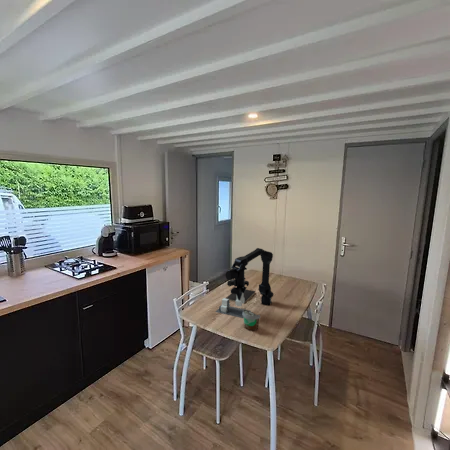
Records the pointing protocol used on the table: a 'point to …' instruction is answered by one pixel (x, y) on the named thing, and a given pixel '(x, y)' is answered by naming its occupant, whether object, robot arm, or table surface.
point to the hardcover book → (247, 295)
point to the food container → (250, 320)
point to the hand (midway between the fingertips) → (240, 298)
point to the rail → (232, 311)
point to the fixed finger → (225, 304)
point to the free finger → (242, 300)
